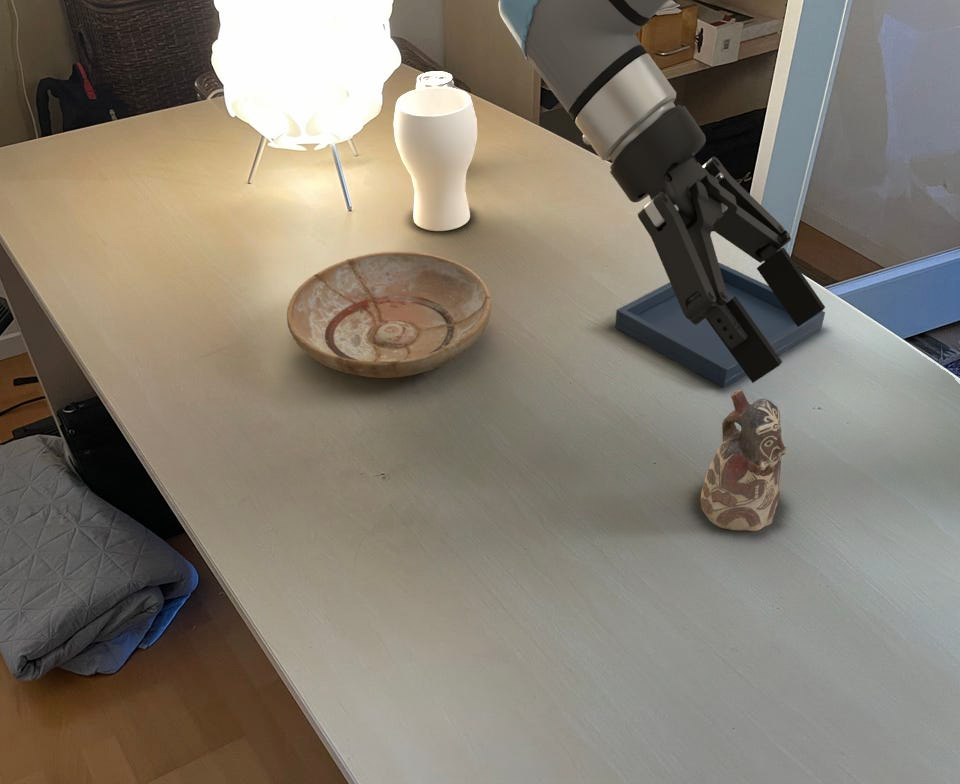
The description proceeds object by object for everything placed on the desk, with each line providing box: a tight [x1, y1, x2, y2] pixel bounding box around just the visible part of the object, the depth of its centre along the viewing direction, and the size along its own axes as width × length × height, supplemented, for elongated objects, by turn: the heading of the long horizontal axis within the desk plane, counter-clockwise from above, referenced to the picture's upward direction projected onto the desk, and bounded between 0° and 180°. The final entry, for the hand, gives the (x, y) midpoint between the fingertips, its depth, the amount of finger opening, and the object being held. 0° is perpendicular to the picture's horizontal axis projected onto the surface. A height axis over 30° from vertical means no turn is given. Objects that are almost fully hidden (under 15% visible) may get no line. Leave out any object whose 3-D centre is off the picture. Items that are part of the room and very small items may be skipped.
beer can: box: [415, 70, 455, 90], centre depth 142 cm, size 5×5×12 cm
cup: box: [393, 87, 478, 232], centre depth 130 cm, size 11×11×15 cm
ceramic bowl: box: [286, 250, 492, 379], centre depth 114 cm, size 23×24×5 cm
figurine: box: [700, 389, 787, 532], centre depth 90 cm, size 7×7×12 cm
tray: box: [614, 261, 826, 389], centre depth 114 cm, size 17×17×2 cm
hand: (790, 343), depth 85 cm, fingers open, 13 cm apart
